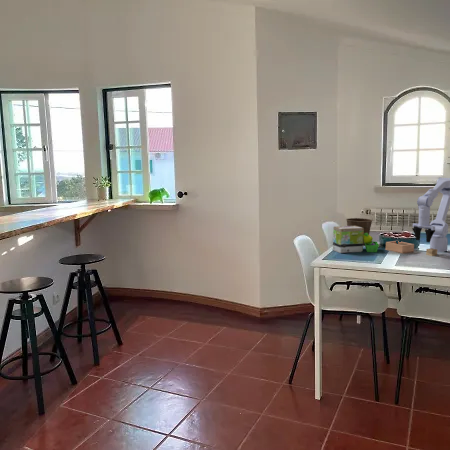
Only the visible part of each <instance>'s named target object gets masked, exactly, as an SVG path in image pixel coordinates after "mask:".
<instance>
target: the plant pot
mask: <svg viewBox="0 0 450 450" xmlns="http://www.w3.org/2000/svg"><path fill="white" fill-rule="evenodd" d="M345 221H346V226H358V227H362V228H364V233H368V234H369V235H370V233H371V232H370V231H371V227H372V223H373V219H370V218H363V217H362V218H360V217H354V218H352V217H351V218H350V217H349V218H346V219H345ZM363 247H365V243H364V241H363Z"/></svg>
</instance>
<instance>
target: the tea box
mask: <svg viewBox="0 0 450 450" xmlns="http://www.w3.org/2000/svg"><path fill="white" fill-rule="evenodd" d="M363 235H364V228H362V227H358V226H347V225H344V226H343V225H341V226H333V233H332V251H334V252H337V253H339V254H344V253H361V252H362V253H363V251H364V250H363V249H364V248H363V247H364V246H363Z"/></svg>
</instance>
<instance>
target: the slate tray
mask: <svg viewBox="0 0 450 450" xmlns="http://www.w3.org/2000/svg"><path fill="white" fill-rule="evenodd" d="M383 250H385V251H389V250H386V248H385V249H383ZM389 252H390V251H389ZM391 252H393V253H396V254H399V253H398V252H394V251H391ZM420 253H421V252H419V251H415V250H414V252H410V253H403V254H402V253H400V254H402V255H406V256H407V255H413V254H414V255H415V254H420Z"/></svg>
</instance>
